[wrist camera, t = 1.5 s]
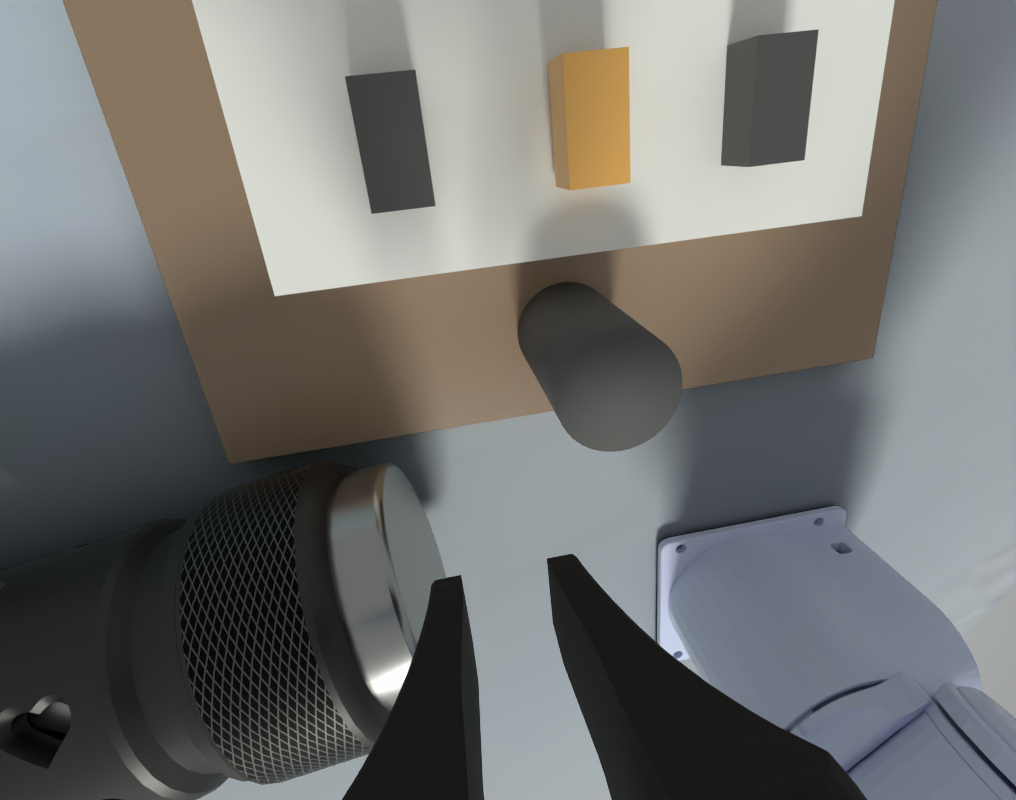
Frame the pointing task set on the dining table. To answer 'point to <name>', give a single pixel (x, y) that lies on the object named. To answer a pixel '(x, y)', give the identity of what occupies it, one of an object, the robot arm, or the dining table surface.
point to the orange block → (590, 118)
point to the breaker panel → (462, 310)
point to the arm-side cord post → (599, 367)
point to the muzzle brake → (216, 640)
